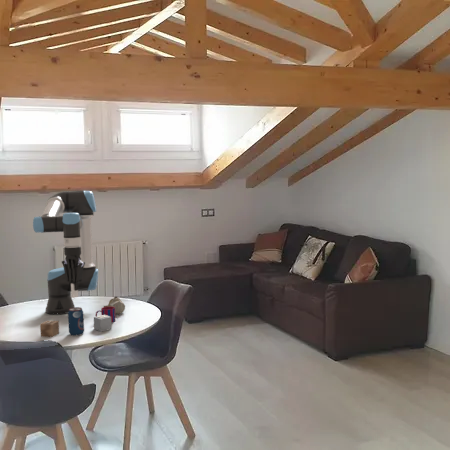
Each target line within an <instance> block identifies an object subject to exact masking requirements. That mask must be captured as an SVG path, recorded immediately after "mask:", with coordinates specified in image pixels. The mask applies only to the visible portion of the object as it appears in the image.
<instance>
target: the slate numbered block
mask: <svg viewBox="0 0 450 450" xmlns="http://www.w3.org/2000/svg"><path fill="white" fill-rule="evenodd" d="M112 326H113V325H112V323H111V317H110V316H107V315H102V314H101V315H97V316H96V315H95V316H93V327H94V328H93V330H95V331H98V332H100V333H101V332H105V331H109V330H112V329H113V328H112Z"/></svg>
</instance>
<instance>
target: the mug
mask: <svg viewBox="0 0 450 450" xmlns="http://www.w3.org/2000/svg"><path fill="white" fill-rule="evenodd" d="M99 312H100V313H101V315H107V316H110V317H111V324H112V323H114V322H116V314H115V307H111V306H109V307H104V306H103V307H101V308H100V309H99V310H97V311H96V312H95V317H96V316H98V313H99Z"/></svg>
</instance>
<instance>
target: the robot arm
mask: <svg viewBox="0 0 450 450" xmlns="http://www.w3.org/2000/svg"><path fill="white" fill-rule="evenodd" d="M94 195H95V194H94V193H93V191H90V190H68V191H67V190H64V191H59V192H57V193H55V194H53V195H51V196H50V197H49V198H48V199H47V200H46V201H45V202H46V203H45V209H44V210H43V213H42V214H41V216H39V215H38V216H35V217H34V218H33V219H32V220H33V221H32V228H33V229H32V230H33V231H34V233H41V234H42V233H43V234H44V233H60V232H61V233H62V232H63V246H64V248H63V255H64V256H65V259H64V260H62V261H61V264H62V266H63V267H58V268H54V269H51V270H49V271H48V272H47V293H48V296H47V297H48V299H47V303H46V306H45V313H46V314H48V315H64V314H68V312H69V309H70V308H75V307H76V305H75V304H74V301H73V299H75V298H78V297H79V292H90V291H95V290H97V287H98V281H99V271H100V270H99V269H98V268H96V267H97V266H96V264H95V263H94V262H93V259H94V258H93V238H92V218H93V217H94V215H95V212H97V205H96V198H95V196H94ZM60 214H62V215H60Z"/></svg>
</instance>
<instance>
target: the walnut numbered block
mask: <svg viewBox="0 0 450 450" xmlns="http://www.w3.org/2000/svg"><path fill="white" fill-rule="evenodd" d="M39 327H40V328H39V329H40V337H42V338H54V337H55V336H57V335H59V334H60V322H59V320H46V321H45V320H44V321H43V322H41V323H40V324H39Z"/></svg>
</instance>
